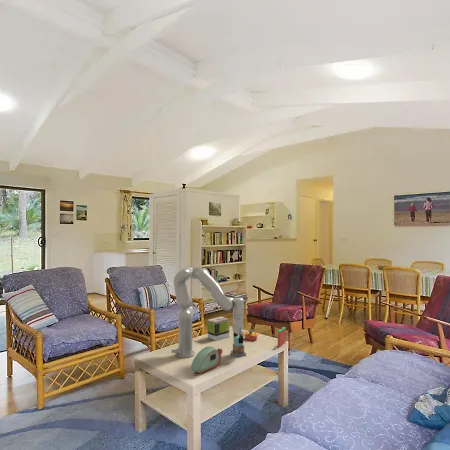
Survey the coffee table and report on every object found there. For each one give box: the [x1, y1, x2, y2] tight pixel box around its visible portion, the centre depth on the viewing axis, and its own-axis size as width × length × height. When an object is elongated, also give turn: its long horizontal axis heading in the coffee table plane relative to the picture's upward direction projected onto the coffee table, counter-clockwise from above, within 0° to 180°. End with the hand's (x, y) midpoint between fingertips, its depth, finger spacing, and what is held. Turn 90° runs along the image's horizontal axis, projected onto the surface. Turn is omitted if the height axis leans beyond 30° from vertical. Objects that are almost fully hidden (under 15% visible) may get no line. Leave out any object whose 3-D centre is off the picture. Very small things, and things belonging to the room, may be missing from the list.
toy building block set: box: [240, 326, 287, 348], centre depth 261 cm, size 12×35×14 cm, turn 58°
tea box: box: [206, 316, 230, 341], centre depth 272 cm, size 15×10×15 cm, turn 130°
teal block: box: [233, 335, 244, 346], centre depth 234 cm, size 5×5×5 cm
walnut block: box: [232, 343, 245, 354], centre depth 234 cm, size 6×6×5 cm
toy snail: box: [190, 346, 223, 376], centre depth 211 cm, size 25×8×14 cm, turn 138°
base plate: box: [230, 349, 247, 358], centre depth 234 cm, size 8×8×2 cm
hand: (238, 340), depth 234 cm, fingers open, 9 cm apart
